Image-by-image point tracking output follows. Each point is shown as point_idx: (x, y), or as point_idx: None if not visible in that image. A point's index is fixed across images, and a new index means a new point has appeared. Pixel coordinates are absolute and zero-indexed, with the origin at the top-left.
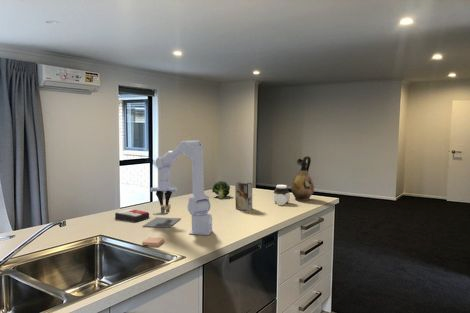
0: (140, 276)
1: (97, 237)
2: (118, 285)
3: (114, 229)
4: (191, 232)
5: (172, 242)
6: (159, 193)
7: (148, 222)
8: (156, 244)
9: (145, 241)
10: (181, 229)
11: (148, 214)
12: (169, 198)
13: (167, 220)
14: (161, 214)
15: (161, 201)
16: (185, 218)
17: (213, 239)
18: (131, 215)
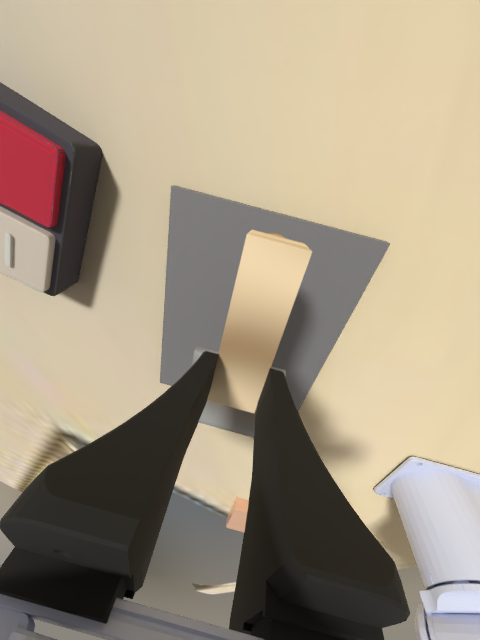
0: None
1: (72, 449)
2: (235, 585)
3: (63, 390)
4: (386, 490)
5: None
6: (136, 589)
7: (164, 330)
8: None
9: (233, 526)
10: (351, 439)
11: (81, 161)
12: (307, 447)
13: None
14: (242, 430)
15: (198, 416)
16: (438, 214)
17: None
18: (3, 273)
